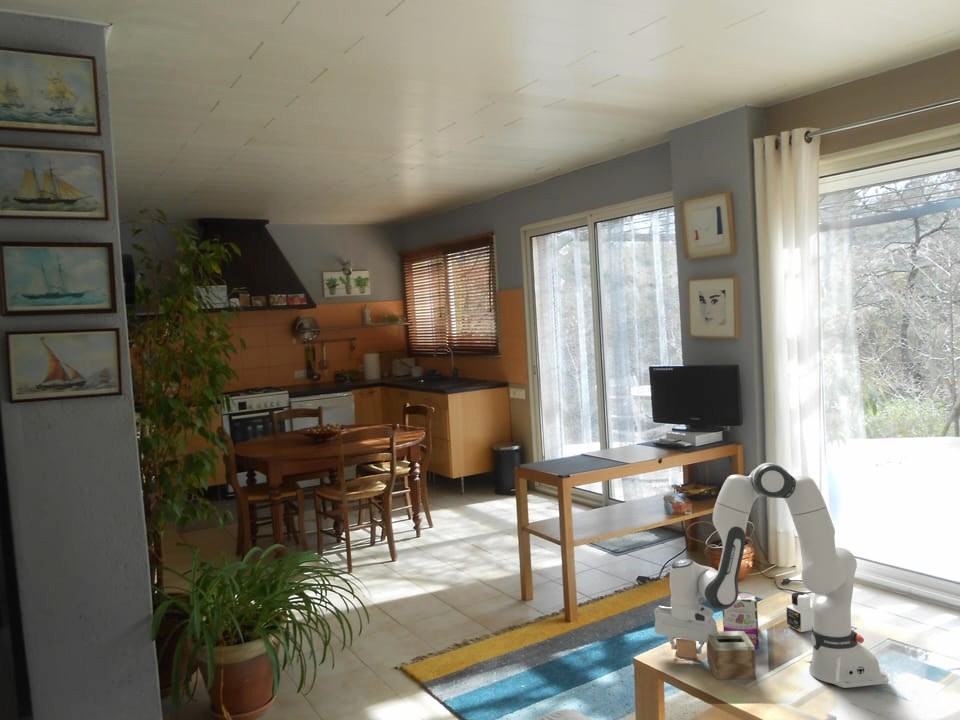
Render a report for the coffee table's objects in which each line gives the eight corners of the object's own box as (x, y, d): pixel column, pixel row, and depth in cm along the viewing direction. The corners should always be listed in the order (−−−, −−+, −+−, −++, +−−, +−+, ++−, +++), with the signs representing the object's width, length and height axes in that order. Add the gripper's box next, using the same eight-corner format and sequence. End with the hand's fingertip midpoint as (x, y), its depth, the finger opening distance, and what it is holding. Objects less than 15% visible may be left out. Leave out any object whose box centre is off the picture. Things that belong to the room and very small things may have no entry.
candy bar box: (758, 642, 253) (756, 595, 253) (759, 649, 249) (757, 600, 248) (724, 640, 257) (722, 593, 257) (723, 646, 252) (721, 598, 252)
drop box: (745, 661, 240) (744, 631, 240) (755, 678, 228) (754, 646, 228) (707, 662, 241) (706, 631, 241) (715, 679, 229) (714, 647, 229)
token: (695, 656, 246) (694, 638, 246) (696, 660, 243) (696, 642, 243) (676, 656, 247) (675, 638, 246) (678, 660, 244) (677, 642, 243)
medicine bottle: (786, 625, 267) (785, 592, 266) (803, 622, 269) (801, 589, 268) (800, 632, 260) (799, 598, 259) (817, 629, 262) (816, 595, 262)
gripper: (650, 608, 247) (652, 649, 248) (713, 618, 236) (715, 660, 237) (657, 601, 252) (658, 642, 253) (718, 611, 242) (720, 653, 242)
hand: (686, 651), depth 245 cm, fingers closed on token, 7 cm apart
